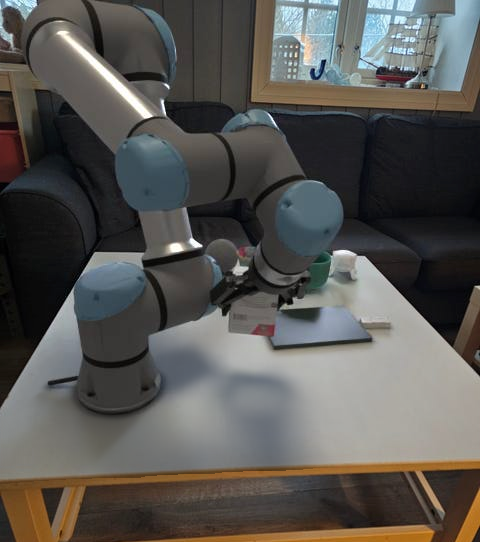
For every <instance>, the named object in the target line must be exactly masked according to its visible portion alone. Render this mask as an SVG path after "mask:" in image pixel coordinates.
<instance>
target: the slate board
mask: <svg viewBox="0 0 480 542" xmlns="http://www.w3.org/2000/svg"><path fill="white" fill-rule="evenodd" d="M267 338H268V340H269V342H270V344H271V346H272V349H273V350H283V349H285V350H286V349H295V348H296V349H297V348H306V347H320V346H332V345H344V344H357V343H367V342H368V343H369V342H373V339H374V337H372V335H371V334H370V333H369V332H368V331H367V330H366V328H363V326H362V325H361V324H360V323H359V321H358V320H357V318H356V317H355V316H354V315H353V314H352V313H351V312H350V310H349V309H348V308H347V307H346V306H345V305H329V306H315V307H297V308H282V309H281V308H280V309H279V310H278V311H277V315H276V324H275V333H274V336H273V337H270V336H267Z"/></svg>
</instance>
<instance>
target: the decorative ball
mask: <svg viewBox="0 0 480 542" xmlns="http://www.w3.org/2000/svg"><path fill="white" fill-rule="evenodd" d="M237 250H238V248H237V247H236V245H235V244H234V243H233V242H231V241H230V240H228V239H224V238H218V239H215V240H213V241H211V242H209V244H208V245H207V246H206V249H205V250H204V254H205V255H208V256H210V257H212V258H213V259H214V260H215V261H216V265H218V266H219V268H220V270H221V273H222V274H225V272H228V271H233V268H234V266H237V263H238V262H239V259H238V257H237V254H236V252H237Z"/></svg>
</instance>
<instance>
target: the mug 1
mask: <svg viewBox="0 0 480 542" xmlns="http://www.w3.org/2000/svg"><path fill="white" fill-rule="evenodd" d="M256 249H257V246H244V247H241V248H239V249H238V248H237V252H236V254H237V257H238V263H239V266H242V267H249V264H250V261H251V259H252V257H253V255H254V253H255V251H256Z"/></svg>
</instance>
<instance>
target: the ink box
mask: <svg viewBox="0 0 480 542" xmlns="http://www.w3.org/2000/svg"><path fill="white" fill-rule="evenodd" d="M246 270H248V267H242V266H240V265H235V266H234V268H233V269H232V272H233V274H236V276H237V275H242V274H243V272H244V271H246ZM278 296H279V295H272V294H267V293H265V292H259V293H257V294H255V295H253V296H247V295H246V296H244V297H242V298H240V299H238V300H236V301H234V302H232V303H231V308H230V310H229V312H228V326H227V327H228V329H227V332H228V333H229V334H238V335H239V334H240V335H250V336H263V337H268V336H270V337H273V336H274V333H275V324H276V315H277V306H278Z"/></svg>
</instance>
